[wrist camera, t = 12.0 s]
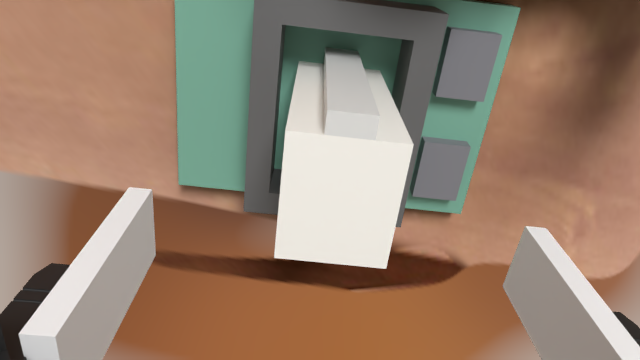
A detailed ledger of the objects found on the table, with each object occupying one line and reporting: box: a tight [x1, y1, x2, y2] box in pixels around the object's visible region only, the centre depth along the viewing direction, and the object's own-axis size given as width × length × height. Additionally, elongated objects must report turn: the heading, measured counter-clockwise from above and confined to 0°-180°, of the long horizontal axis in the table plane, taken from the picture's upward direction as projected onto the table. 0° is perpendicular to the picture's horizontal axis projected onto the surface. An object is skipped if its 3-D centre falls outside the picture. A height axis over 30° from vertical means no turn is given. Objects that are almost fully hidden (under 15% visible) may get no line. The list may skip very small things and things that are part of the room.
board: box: [175, 0, 521, 227], centre depth 29 cm, size 20×14×5 cm
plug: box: [274, 47, 414, 269], centre depth 25 cm, size 5×7×12 cm
